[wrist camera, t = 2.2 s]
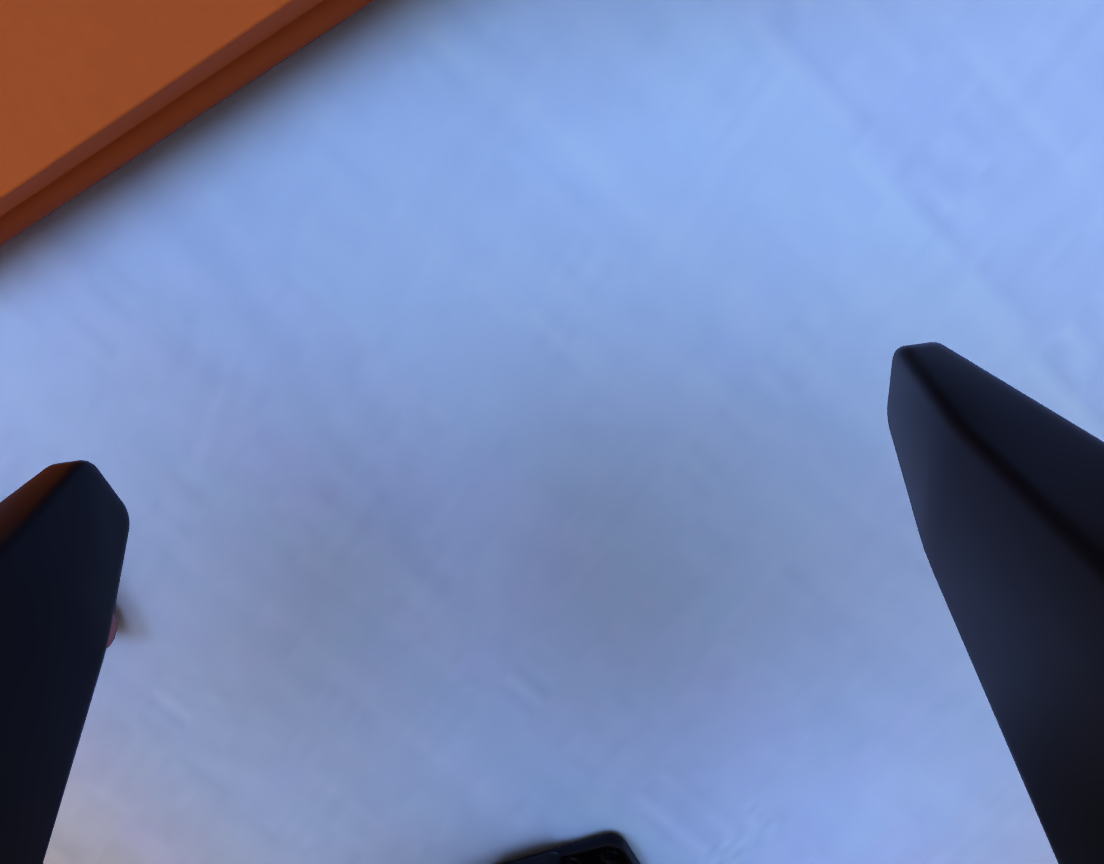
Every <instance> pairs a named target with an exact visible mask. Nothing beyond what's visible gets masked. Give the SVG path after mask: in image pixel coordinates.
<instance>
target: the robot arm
mask: <svg viewBox="0 0 1104 864" xmlns="http://www.w3.org/2000/svg"><path fill="white" fill-rule="evenodd" d="M887 415H888V423H889V428H890V432H891V436H892V439H893V443H894V446H895V450H896V453H897V457H898V460H899V464H900V467H901V471H902V474H903V478H904V481H905V485H906V489H907V492H908V496H909V499H910V503H911V506H912V510H913V513H914V517H915V520H916V524H917V527H918V531H919V534H920V537H921V540H922V544H923V547H924V550H925V553H926V555H927V558H928V560H929V563H930V565H931V568H932V571H933V573H934V575H935V578H936V580H937V582H938V585H939V587H940V589H941V591H942V594H943V596H944V598H945V601H946V603H947V605H948V608H949V610H950V612H951V615H952V617H953V619H954V622H955V624H956V626H957V629H958V631H959V633H960V636H961V638H962V640H963V643H964V645H965V647H966V650H967V652H968V654H969V657H970V659H971V661H972V664H973V666H974V668H975V671H976V673H977V675H978V678H979V680H980V682H981V685H982V687H983V689H984V691H985V694H986V696H987V698H988V701H989V703H990V705H991V708H992V710H993V712H994V715H995V717H996V719H997V722H998V724H999V726H1000V729H1001V731H1002V733H1003V736H1004V738H1005V740H1006V743H1007V745H1008V747H1009V750H1010V752H1011V754H1012V757H1013V759H1014V761H1015V764H1016V766H1017V768H1018V771H1019V773H1020V775H1021V778H1022V780H1023V782H1024V785H1025V787H1026V789H1027V792H1028V794H1029V796H1030V798H1031V801H1032V803H1033V805H1034V808H1035V810H1036V812H1037V815H1038V817H1039V819H1040V822H1041V824H1042V826H1043V829H1044V831H1045V833H1046V836H1047V838H1048V840H1049V843H1050V845H1051V847H1052V850H1053V852H1054V854H1055V857H1056V859H1057V861H1058V864H1104V442H1103V441H1101V440H1099V439H1098V438H1096V437H1094V436H1093V435H1091V434H1089V433H1088V432H1086V431H1085V430H1083V429H1081V428H1080V427H1078V426H1076V425H1075V424H1073V423H1071V422H1070V421H1068V420H1066V419H1065V418H1063V417H1061V416H1060V415H1058V414H1056V413H1055V412H1053V411H1051V410H1050V409H1048V408H1046V407H1045V406H1043V405H1042V404H1040V403H1038V402H1037V401H1035V400H1033V399H1032V398H1030V397H1028V396H1027V395H1025V394H1023V393H1022V392H1020V391H1018V390H1017V389H1015V388H1013V387H1012V386H1010V385H1008V384H1007V383H1005V382H1003V381H1002V380H1000V379H999V378H997V377H995V376H994V375H992V374H990V373H989V372H987V371H985V370H984V369H982V368H980V367H979V366H977V365H975V364H974V363H972V362H970V361H969V360H967V359H965V358H964V357H962V356H960V355H959V354H957V353H956V352H954V351H952V350H951V349H949V348H947V347H946V346H944V345H942V344H940V343H936V342H929V343H922V344H915V345H908V346H902V347H900V348H898V349H897V350H896V351H895V353H894V356H893V360H892V368H891V377H890V386H889V396H888V405H887ZM128 532H129V516H128V512H127V509H126V507H125V505H124V504H123V502H122V501H121V500H120V498H119V497H118V496H117V494H116V493H115V492H114V490H113V489H112V487H111V486H110V485H109V483H108V482H107V481H106V479H105V478H104V477H103V475H102V474H101V473H100V471H99V470H98V469H97V467H96V466H95V465H93V464H92V463H90V462H88V461H83V460H79V461H72V462H65V463H58V464H53V465H51V466H49V467H47V468H45V469H44V470H43V471H41V472H40V473H39V474H37V475H36V476H35V477H33V478H32V479H31V480H29V481H28V482H27V483H25V484H24V485H23V486H22V487H20V488H19V489H18V490H16V491H15V492H14V493H12V494H11V495H10V496H8V497H7V498H6V499H4V500H3V501H2V502H0V864H43V861H44V858H45V854H46V851H47V848H48V844H49V841H50V838H51V834H52V831H53V827H54V824H55V821H56V817H57V814H58V811H59V807H60V804H61V801H62V797H63V794H64V790H65V787H66V784H67V780H68V777H69V774H70V770H71V767H72V764H73V760H74V757H75V753H76V750H77V747H78V743H79V740H80V737H81V733H82V730H83V727H84V723H85V720H86V716H87V713H88V710H89V706H90V703H91V700H92V696H93V693H94V690H95V686H96V683H97V679H98V676H99V673H100V669H101V666H102V663H103V659H104V655H105V651H106V648H107V644H108V640H109V635H110V630H111V625H112V620H113V615H114V609H115V604H116V598H117V593H118V587H119V582H120V576H121V571H122V565H123V560H124V554H125V549H126V543H127V538H128ZM607 850H612V851H615V852H610V851H607ZM503 864H640V863H639V862H638V860H637V859H636V857H635V855H634V854H633V852H632V851H631V849H630V847H629V846H628V844H627V843H626V841H625V840H624V839H623V838H622V837H620V836H618V835H614V834H604V835H601V836H597V837H594V838H590V839H587V840H583V841H580V842H576V843H573V844H569V845H566V846H562V847H559V848H555V849H552V850H548V851H545V852H541V853H538V854H534V855H531V856H527V857H524V858H520V859H517V860H513V861H510V862H506V863H503Z"/></svg>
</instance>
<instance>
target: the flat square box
mask: <svg viewBox="0 0 1104 864" xmlns="http://www.w3.org/2000/svg"><path fill="white" fill-rule="evenodd" d="M373 1H374V0H0V246H1V245H3V244H4V243H6V242H7V241H9V240H10V239H12V238H13V237H15V236H16V235H18V234H20V233H21V232H23V231H24V230H26V229H27V228H29V227H30V226H32V225H33V224H35V223H36V222H38V221H39V220H41V219H42V218H44V217H45V216H47V215H48V214H50V213H51V212H53V211H55V210H56V209H58V208H59V207H61V206H62V205H64V204H65V203H67V202H68V201H70V200H71V199H73V198H74V197H76V196H77V195H79V194H80V193H82V192H83V191H85V190H87V189H88V188H90V187H91V186H93V185H94V184H96V183H97V182H99V181H100V180H102V179H103V178H105V177H106V176H108V175H109V174H111V173H112V172H114V171H115V170H117V169H119V168H120V167H122V166H123V165H125V164H126V163H128V162H129V161H131V160H132V159H134V158H135V157H137V156H138V155H140V154H141V153H143V152H144V151H146V150H147V149H149V148H150V147H152V146H154V145H155V144H157V143H158V142H160V141H161V140H163V139H164V138H166V137H167V136H169V135H170V134H172V133H173V132H175V131H176V130H178V129H179V128H181V127H182V126H184V125H186V124H187V123H189V122H190V121H192V120H193V119H195V118H196V117H198V116H199V115H201V114H202V113H204V112H205V111H207V110H208V109H210V108H211V107H213V106H214V105H216V104H217V103H219V102H221V101H222V100H224V99H225V98H227V97H228V96H230V95H231V94H233V93H234V92H236V91H237V90H239V89H240V88H242V87H243V86H245V85H246V84H248V83H249V82H251V81H253V80H254V79H256V78H257V77H259V76H260V75H262V74H263V73H265V72H266V71H268V70H269V69H271V68H272V67H274V66H275V65H277V64H278V63H280V62H281V61H283V60H285V59H286V58H288V57H289V56H291V55H292V54H294V53H295V52H297V51H298V50H300V49H301V48H303V47H304V46H306V45H307V44H309V43H310V42H312V41H313V40H315V39H316V38H318V37H320V36H321V35H323V34H324V33H326V32H327V31H329V30H330V29H332V28H333V27H335V26H336V25H338V24H339V23H341V22H342V21H344V20H345V19H347V18H348V17H350V16H352V15H353V14H355V13H356V12H358V11H359V10H361V9H362V8H364V7H365V6H367V5H368V4H370V3H371V2H373Z"/></svg>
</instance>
